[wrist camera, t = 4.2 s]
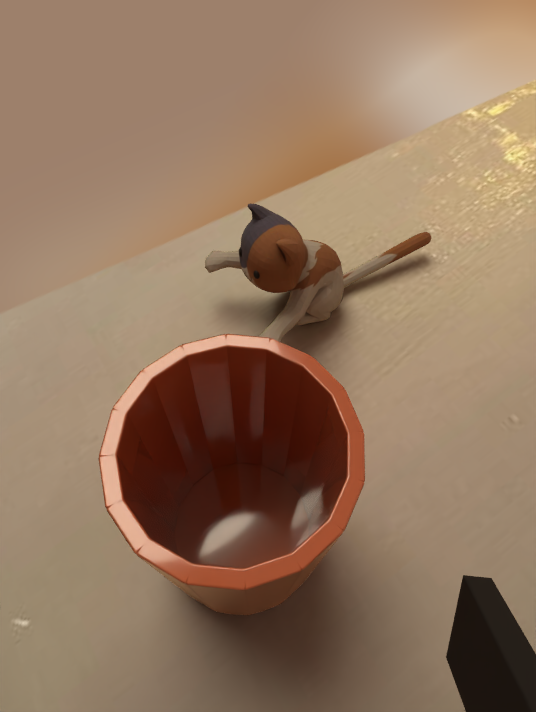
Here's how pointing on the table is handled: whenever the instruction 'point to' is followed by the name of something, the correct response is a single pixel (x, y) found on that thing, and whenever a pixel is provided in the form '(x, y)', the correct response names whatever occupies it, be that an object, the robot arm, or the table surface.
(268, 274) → the toy
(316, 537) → the cup
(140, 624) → the table surface
